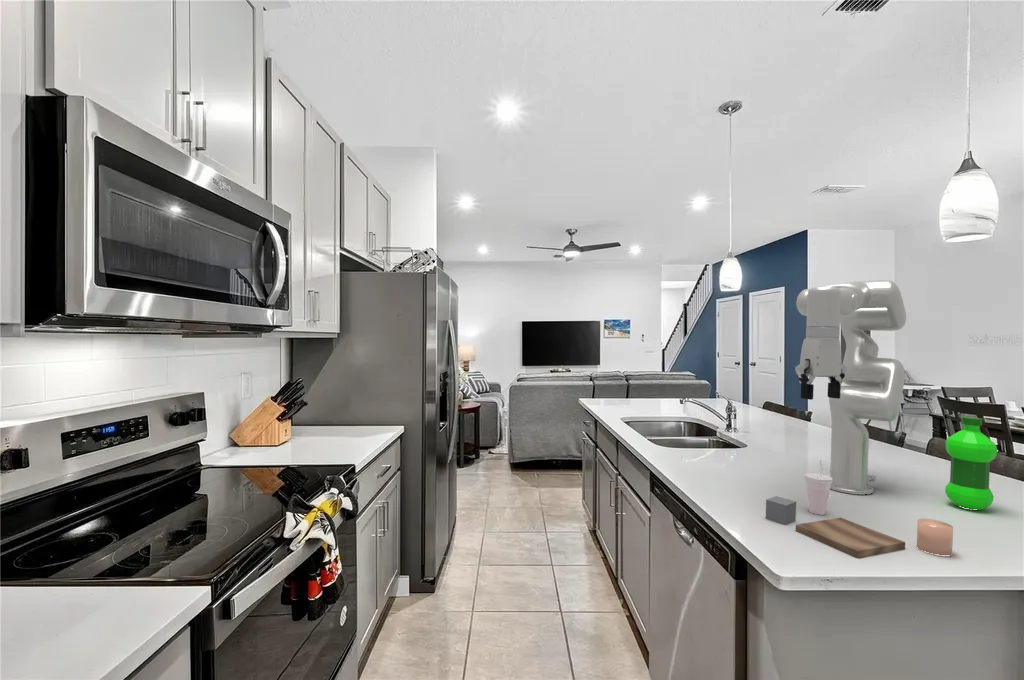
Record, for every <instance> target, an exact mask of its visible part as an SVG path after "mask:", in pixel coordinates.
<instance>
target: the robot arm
mask: <svg viewBox="0 0 1024 680" xmlns="http://www.w3.org/2000/svg"><path fill="white" fill-rule="evenodd" d="M796 308H797V311H798V312H799V314H801V316H805V317H806V327H805V329H806V330H805V338H803V342H802V345H801V350H800V351H801V352H800V359H799V364H798V365H796V366H795V368H794V369H795V373H796V378H797V379H798V380H799V382H798V383H800V398H801V399H804V400H809V401H813V400H814V389H815V386H814V380H815V379H816V378H827V379H828V380H829V382H828V383H827V398H828V402H829V411H830V417H831V418H830V419H831V434H830V435H831V438H830V463H829V465H830V467H829V468H830V469H829V470H830V471H829V476H830V477H832V481H833V482H832V483H831V486H830V490H833V491H837V492H841V493H844V494H851V495H858V494H859V495H860V496H862V495H863V496H865V494H867V495H872V494H874V488H873V487H872V486H870V485H869V483H870V482H875V481H877V475H875V474H868V473H869V471H868V469H869V442H870V435H869V431H868V428H867V427H866V426H865V424H864V423H863V422H862V420H863V419H864V420H870V421H880V422H893V421H895V420H896V419H897V418H898V416H899V413H900V411H901V404H902V397H903V392H904V391H903V390H904V386H905V385H904V383H905V377H906V376H905V375H906V374H905V367H904V364H903V363H902V362H901V361H900V360H898V359H895V358H887V357H878V354H879V350H880V349H879V345H878V344H877V342H876V341H875V340H874V339H873V338H872V337H871V336H870V335H869V334H867V333H866V331H875V332H876V331H885V332H886V331H889V332H890V331H891V332H892V331H893V332H894V331H899V330H901V329H902V328H904V326H905V325H906V321H907V312H906V308H905V304H904V300H903V296H902V293H901V291H900V287H899V286H898V285H897V284H896V282H895V281H892V280H890V279H883V280H880V279H879V280H878V279H877V280H860V281H859V280H858V281H852V282H845V283H842V284H841V283H840V284H832V285H828V286H827V285H826V286H818V287H817V286H815V287H811V288H806V289H803V290H802V291H801V292H799V294H798V295H797V298H796ZM840 331H841V332H842V333H841V334H842V335H843V338H844V342H845V347H846V348H845V351H844V357H843V359H842V347H841V340H840ZM842 360H843V361H842ZM842 383H843V384H846V385H841V384H842ZM861 419H862V420H861ZM871 493H872V494H871Z"/></svg>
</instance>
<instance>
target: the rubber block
mask: <svg viewBox="0 0 1024 680" xmlns="http://www.w3.org/2000/svg"><path fill="white" fill-rule="evenodd" d="M765 519H766V520H769V521H772V522H776V523H779V524H781V525H784V526H787V525H790V524H792V523H794V522H796V520H797V501H795V500H791V499H788V498H784V497H781V496H778V495H776V496H772V497H770V498H767V499H765Z"/></svg>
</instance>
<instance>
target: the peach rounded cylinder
mask: <svg viewBox="0 0 1024 680" xmlns="http://www.w3.org/2000/svg"><path fill="white" fill-rule="evenodd" d="M916 527H917V528H916V529H917V530H916V548H917V547H918V548H919V549H921V550H923V551H926V552H929V553H933V554H939V555H951V554H952V555H953V545H954V543H953V542H954V540H953V539H954V526H953V525H951V524H950V523H947V522H944V521H940V520H937V519H932V518H918V519H917V526H916ZM918 548H917V549H918ZM919 549H918V550H919ZM921 550H920V551H921ZM923 551H922V552H923Z"/></svg>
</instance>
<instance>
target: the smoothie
mask: <svg viewBox="0 0 1024 680" xmlns="http://www.w3.org/2000/svg"><path fill="white" fill-rule="evenodd" d="M804 479H805V483H806V492H807V502H808V510H809V512H810V514H811V513H812V514H813V513H814V515H818V514H819V516H824V514H825V515H826V512H827V508H828V507H827V506H828V504H829V503H828V501H829V498H830V497H829V496H830V490H831V489H830V486H831V483H832V482H833V481H832V477H830V475H827V474H823V460H819V472H818V473H815V472H807V473H805V474H804Z"/></svg>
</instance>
